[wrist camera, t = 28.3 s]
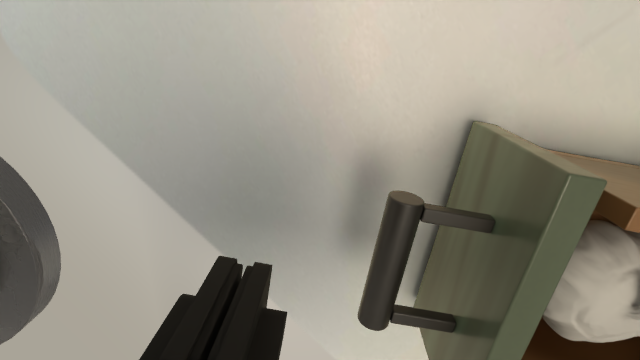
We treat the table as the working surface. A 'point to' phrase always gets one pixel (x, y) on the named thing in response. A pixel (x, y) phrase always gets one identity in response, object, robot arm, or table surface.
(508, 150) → the drawer
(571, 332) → the garlic
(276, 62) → the table surface
